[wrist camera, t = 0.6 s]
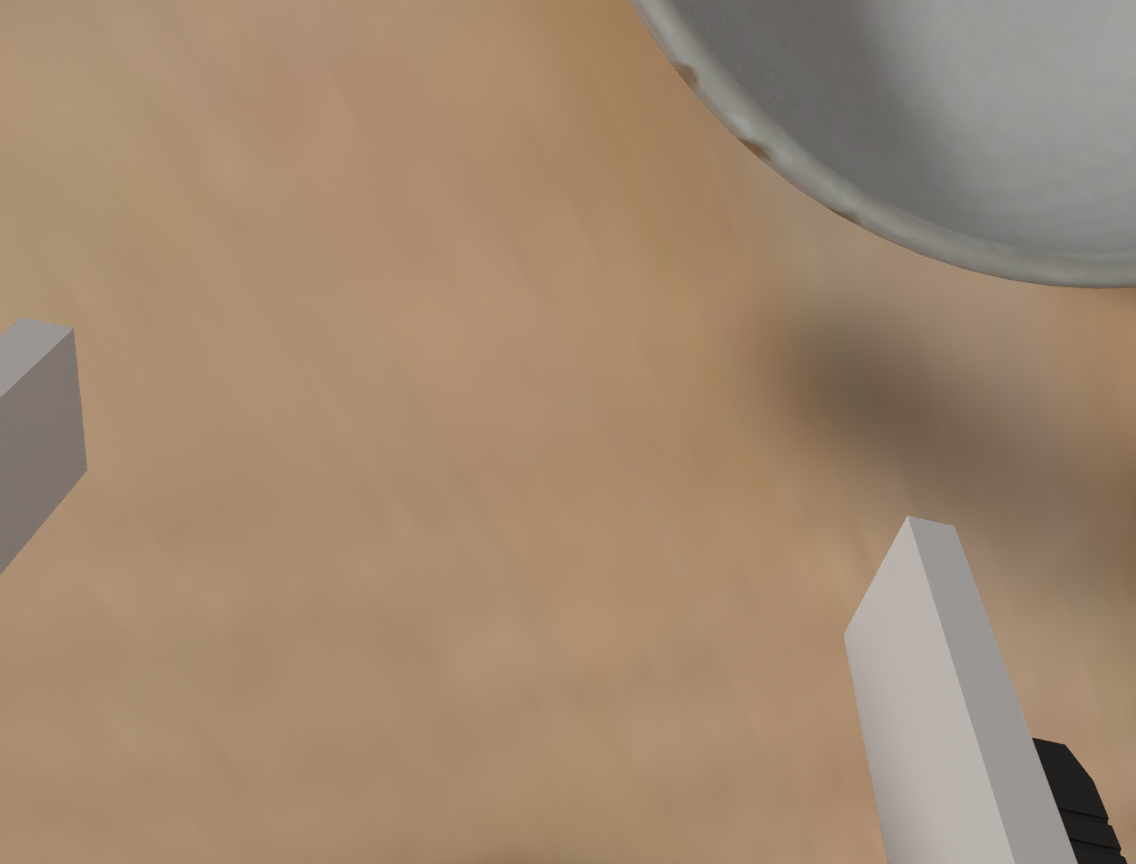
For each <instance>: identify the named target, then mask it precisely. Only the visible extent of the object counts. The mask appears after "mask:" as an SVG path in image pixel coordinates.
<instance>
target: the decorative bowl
mask: <svg viewBox="0 0 1136 864" xmlns="http://www.w3.org/2000/svg"><path fill="white" fill-rule="evenodd" d="M630 1H631V3H632V5H633V7H634V8H635V10H636V12H637V14H638V15H639V17H640V19H641V21H642V22H643V24H644V25H645V27H646V28H647V30H648V31H649V33H650V34H651V36H652V37H653V39H654V40H655V42H656V43H657V45H658V46H659V48H660V49H661V51H662V52H663V53H664V55H665V56H666V58H667V59H668V61H669V62H670V63H671V65H672V66H673V67H674V68H675V70H676V71H677V72H678V73H679V75H680V76H681V77H682V78H683V80H684V81H685V82H686V83H687V85H688V86H689V87H690V88H691V90H692V91H693V92H694V93H695V95H696V96H697V97H698V98H699V99H700V100H701V101H702V102H703V103H704V105H705V106H706V107H707V108H708V109H709V110H710V111H711V112H712V113H713V114H714V115H715V116H716V117H717V119H718V120H719V121H720V122H721V123H722V124H723V125H724V126H725V127H726V128H727V129H728V130H729V131H730V132H731V133H732V134H733V135H734V136H735V137H736V138H737V139H739V140H740V141H741V142H742V143H743V144H744V145H745V146H746V147H747V148H748V149H749V150H751V151H752V152H753V153H754V154H755V155H756V156H757V157H758V158H759V159H760V160H762V161H763V162H764V163H765V164H767V165H768V166H769V167H771V168H772V169H773V170H774V171H776V172H777V173H778V174H780V175H781V176H782V177H783V178H785V179H786V180H787V181H789V182H790V183H791V184H792V185H794V186H795V187H796V188H798V189H799V190H801V191H802V192H804V193H805V194H807V195H808V196H810V197H811V198H813V199H814V200H816V201H818V202H819V203H821V204H822V205H824V206H825V207H827V208H828V209H830V210H831V211H833V212H834V213H836V214H838V215H840V216H841V217H843V218H845V219H847V220H849V221H851V222H853V223H855V224H856V225H858V226H860V227H862V228H864V229H866V230H868V231H869V232H871V233H873V234H875V235H877V236H879V237H881V238H884V239H886V240H888V241H891V242H893V243H895V244H898V245H900V246H902V247H905V248H907V249H909V250H912V251H914V252H916V253H919V254H921V255H924V256H927V257H930V258H933V259H936V260H939V261H942V262H945V263H948V264H951V265H954V266H957V267H960V268H963V269H966V270H970V271H974V272H978V273H983V274H987V275H991V276H995V277H1000V278H1004V279H1008V280H1015V281H1021V282H1028V283H1035V284H1042V285H1049V286H1061V287H1078V288H1096V289H1099V288H1132V287H1136V0H630Z"/></svg>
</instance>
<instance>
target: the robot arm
mask: <svg viewBox="0 0 1136 864" xmlns="http://www.w3.org/2000/svg"><path fill="white" fill-rule="evenodd" d="M86 471H87V461H86V451H85V440H84V430H83V419H82V409H81V399H80V388H79V378H78V367H77V357H76V346H75V336H74V328H70V327H66V326H61V325H57V324H52V323H48V322H43V321H39V320H34V319H30V318H25V317H23V318H21V319H20V320H19V321H18V322H17V323H15V324H14V325H13V326H12V327H11V328H10V329H8V330H7V331H6V332H5V333H4V334H3V335H1V336H0V574H1V573H2V572H3V571H4V570H5V568H6V567H7V566H8V565H9V564H10V562H11V561H12V560H13V559H14V558H15V556H16V555H17V554H18V553H19V552H20V550H21V549H22V548H23V547H24V546H25V544H26V543H27V542H28V541H29V539H30V538H31V537H32V536H33V535H34V533H35V532H36V531H37V530H38V529H39V527H40V526H41V525H42V524H43V523H44V521H45V520H46V519H47V518H48V517H49V515H50V514H51V513H52V512H53V511H54V509H55V508H56V507H57V506H58V505H59V503H60V502H61V501H62V500H63V499H64V497H65V496H66V495H67V494H68V493H69V491H70V490H71V489H72V488H73V487H74V485H75V484H76V483H77V482H78V480H79V479H80V478H81V477H82V476H83V474H84V473H85V472H86ZM844 640H845V645H846V650H847V655H848V660H849V666H850V671H851V676H852V681H853V686H854V692H855V697H856V702H857V707H858V712H859V718H860V723H861V728H862V733H863V738H864V743H865V749H866V754H867V759H868V764H869V769H870V775H871V780H872V785H873V790H874V795H875V800H876V806H877V811H878V816H879V821H880V826H881V832H882V837H883V842H884V847H885V852H886V857H887V863H888V864H1127V862H1126V859H1125V857H1123V856H1121V854H1120V851H1121V847H1120V845H1119V842H1118V840H1117V837H1116V835H1115V832H1114V830H1113V828H1112V826H1110V825H1108V819H1109V818H1108V815H1107V813H1106V810H1105V808H1104V806H1103V803H1102V801H1101V798H1100V796H1099V793H1098V791H1097V789H1096V786H1095V784H1094V781H1093V780H1092V778H1091V777H1090V776H1089V775H1088V773H1087V772H1086V771H1085V770H1084V768H1083V767H1082V766H1081V764H1080V763H1079V762H1078V761H1077V759H1076V758H1075V757H1074V755H1073V754H1072V753H1071V752H1070V750H1069V749H1068V748H1067V746H1066V745H1064V744H1059V743H1055V742H1050V741H1045V740H1041V739H1036V738H1032V737H1031V734H1030V732H1029V729H1028V726H1027V723H1026V721H1025V718H1024V715H1023V713H1022V710H1021V707H1020V704H1019V702H1018V699H1017V696H1016V693H1015V691H1014V688H1013V685H1012V682H1011V680H1010V677H1009V674H1008V671H1007V669H1006V666H1005V663H1004V661H1003V658H1002V655H1001V652H1000V650H999V647H998V644H997V641H996V639H995V636H994V633H993V630H992V628H991V625H990V622H989V619H988V617H987V614H986V611H985V609H984V606H983V603H982V600H981V598H980V595H979V592H978V589H977V587H976V584H975V581H974V578H973V576H972V573H971V570H970V567H969V565H968V562H967V559H966V557H965V554H964V551H963V548H962V546H961V543H960V540H959V537H958V535H957V532H956V529H955V526H952V525H948V524H943V523H939V522H934V521H930V520H925V519H921V518H916V517H912V516H907V518H906V519H905V521H904V523H903V525H902V527H901V529H900V531H899V532H898V534H897V536H896V538H895V540H894V542H893V544H892V546H891V547H890V549H889V551H888V553H887V555H886V557H885V559H884V560H883V562H882V564H881V566H880V568H879V570H878V572H877V574H876V575H875V577H874V579H873V581H872V583H871V585H870V587H869V588H868V590H867V592H866V594H865V596H864V598H863V600H862V602H861V603H860V605H859V607H858V609H857V611H856V613H855V615H854V616H853V618H852V620H851V622H850V624H849V626H848V628H847V630H846V631H845V633H844Z"/></svg>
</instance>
